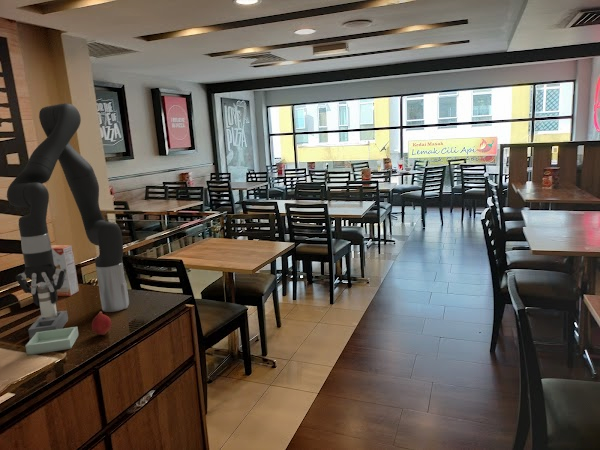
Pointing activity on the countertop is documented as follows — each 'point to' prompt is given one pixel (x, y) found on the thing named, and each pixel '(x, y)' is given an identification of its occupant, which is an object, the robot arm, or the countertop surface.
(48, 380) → the countertop surface
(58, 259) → the cracker box
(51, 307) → the cylinder
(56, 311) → the ball
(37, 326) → the block
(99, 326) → the onion
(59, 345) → the parts tray
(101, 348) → the countertop surface
